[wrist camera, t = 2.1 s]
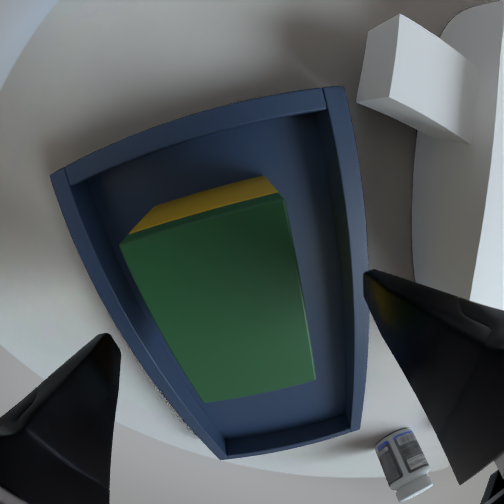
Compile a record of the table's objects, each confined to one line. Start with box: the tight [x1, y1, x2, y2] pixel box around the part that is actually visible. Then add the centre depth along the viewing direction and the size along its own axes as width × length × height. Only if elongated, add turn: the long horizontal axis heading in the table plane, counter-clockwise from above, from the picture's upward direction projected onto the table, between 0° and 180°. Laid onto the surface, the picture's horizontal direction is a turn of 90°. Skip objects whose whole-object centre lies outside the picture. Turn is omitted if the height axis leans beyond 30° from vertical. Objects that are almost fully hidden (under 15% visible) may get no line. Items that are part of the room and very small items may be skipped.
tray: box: [50, 86, 369, 460], centre depth 13 cm, size 11×22×2 cm, turn 14°
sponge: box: [119, 176, 316, 403], centre depth 10 cm, size 4×7×4 cm, turn 14°
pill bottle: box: [375, 428, 433, 502], centre depth 19 cm, size 5×5×8 cm
